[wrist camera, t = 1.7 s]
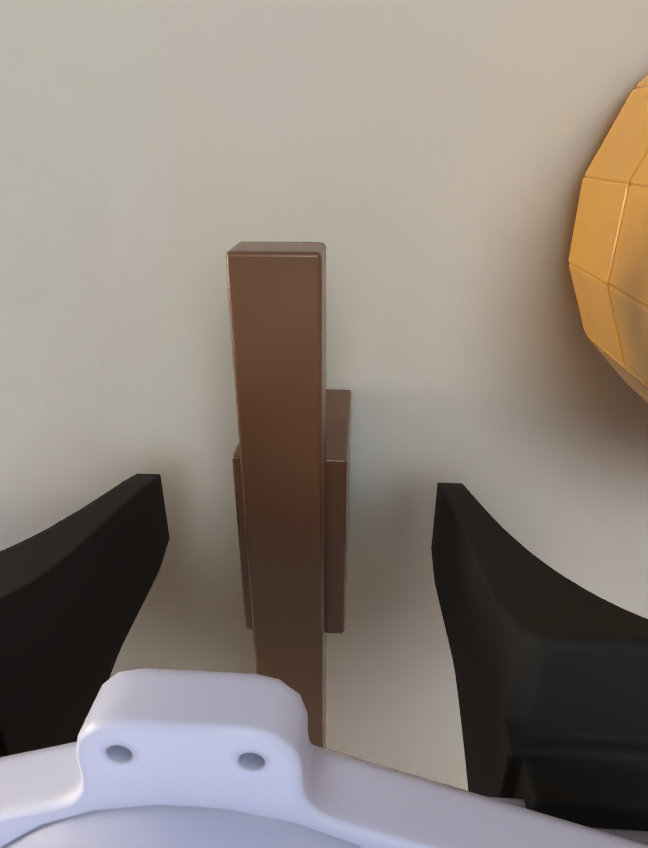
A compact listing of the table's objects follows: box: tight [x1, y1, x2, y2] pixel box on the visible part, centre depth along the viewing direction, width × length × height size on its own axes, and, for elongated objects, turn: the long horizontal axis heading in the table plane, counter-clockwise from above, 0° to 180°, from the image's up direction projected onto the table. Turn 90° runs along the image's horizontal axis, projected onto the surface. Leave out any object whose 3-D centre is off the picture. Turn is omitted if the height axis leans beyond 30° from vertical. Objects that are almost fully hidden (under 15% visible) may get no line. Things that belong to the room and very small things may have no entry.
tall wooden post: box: [226, 242, 351, 749], centre depth 15 cm, size 14×2×5 cm, turn 0°
